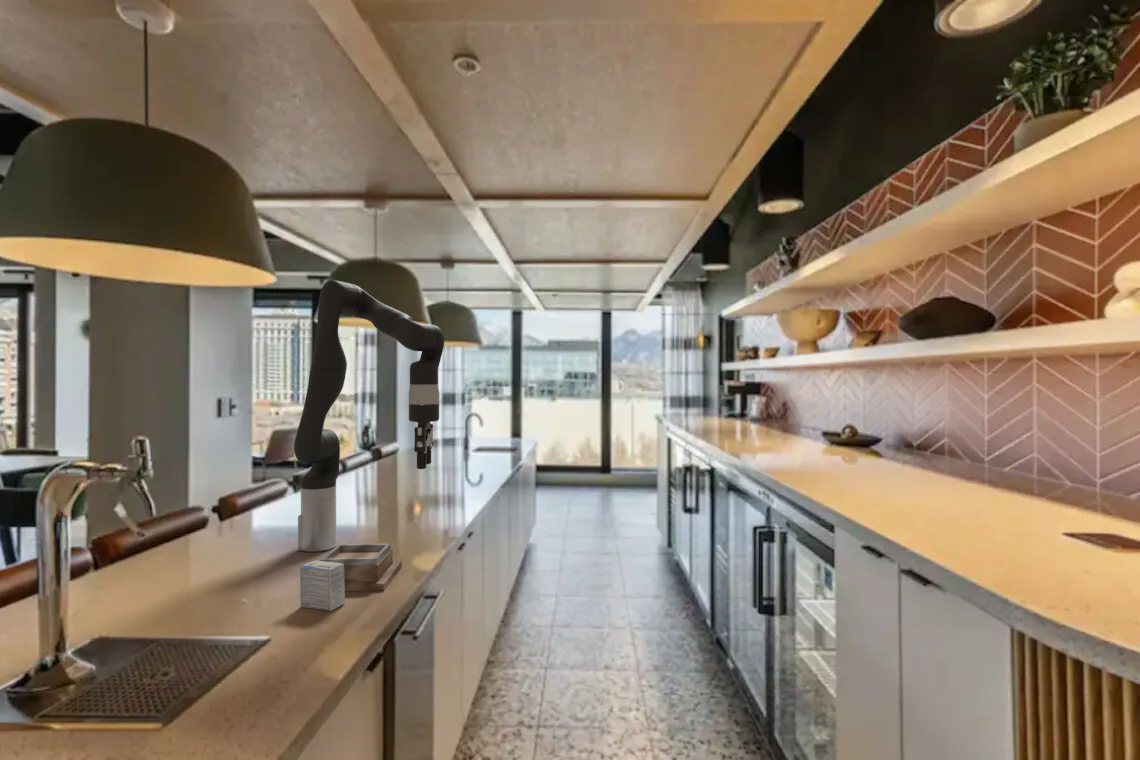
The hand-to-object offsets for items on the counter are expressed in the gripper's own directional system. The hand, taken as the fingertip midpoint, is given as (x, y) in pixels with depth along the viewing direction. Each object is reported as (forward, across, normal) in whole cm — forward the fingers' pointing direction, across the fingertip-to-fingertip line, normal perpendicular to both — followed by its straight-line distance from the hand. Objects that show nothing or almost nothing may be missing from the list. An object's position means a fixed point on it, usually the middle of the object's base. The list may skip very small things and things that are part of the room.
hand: (424, 466), depth 151 cm
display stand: (+25, +9, -14) cm, 30 cm away
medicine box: (+26, +26, -17) cm, 40 cm away
